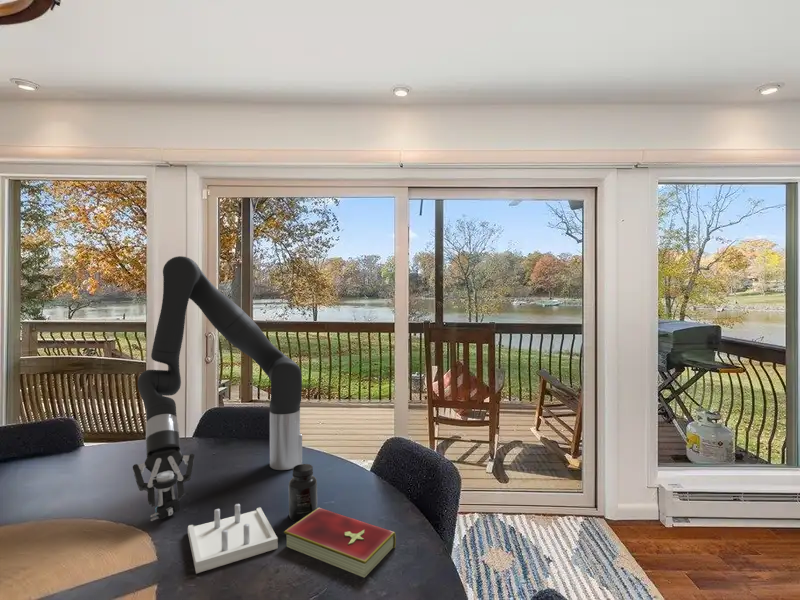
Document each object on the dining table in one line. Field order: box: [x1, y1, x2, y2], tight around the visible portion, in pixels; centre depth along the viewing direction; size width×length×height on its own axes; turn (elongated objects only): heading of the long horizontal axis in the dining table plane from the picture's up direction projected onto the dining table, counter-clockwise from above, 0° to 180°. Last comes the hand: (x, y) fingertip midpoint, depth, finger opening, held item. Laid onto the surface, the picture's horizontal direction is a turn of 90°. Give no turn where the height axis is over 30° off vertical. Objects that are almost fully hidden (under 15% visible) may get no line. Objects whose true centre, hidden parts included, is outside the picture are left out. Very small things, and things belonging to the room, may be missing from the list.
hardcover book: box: [283, 506, 397, 578], centre depth 94 cm, size 12×21×4 cm, turn 61°
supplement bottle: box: [288, 463, 318, 523], centre depth 106 cm, size 7×7×12 cm
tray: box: [187, 503, 279, 574], centre depth 96 cm, size 16×16×5 cm
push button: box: [150, 471, 180, 522], centre depth 104 cm, size 7×5×10 cm
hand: (166, 501), depth 103 cm, fingers closed on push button, 5 cm apart
